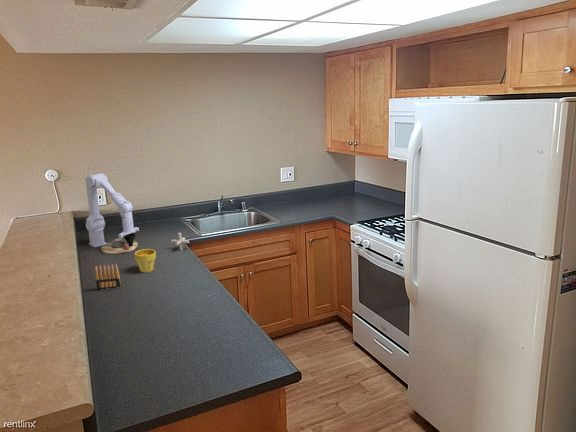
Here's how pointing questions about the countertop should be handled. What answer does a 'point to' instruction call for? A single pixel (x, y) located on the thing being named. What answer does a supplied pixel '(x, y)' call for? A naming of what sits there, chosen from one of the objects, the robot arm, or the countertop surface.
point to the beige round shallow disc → (125, 249)
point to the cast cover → (118, 243)
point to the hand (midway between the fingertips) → (130, 246)
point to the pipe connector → (180, 241)
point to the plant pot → (145, 259)
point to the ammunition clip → (107, 277)
